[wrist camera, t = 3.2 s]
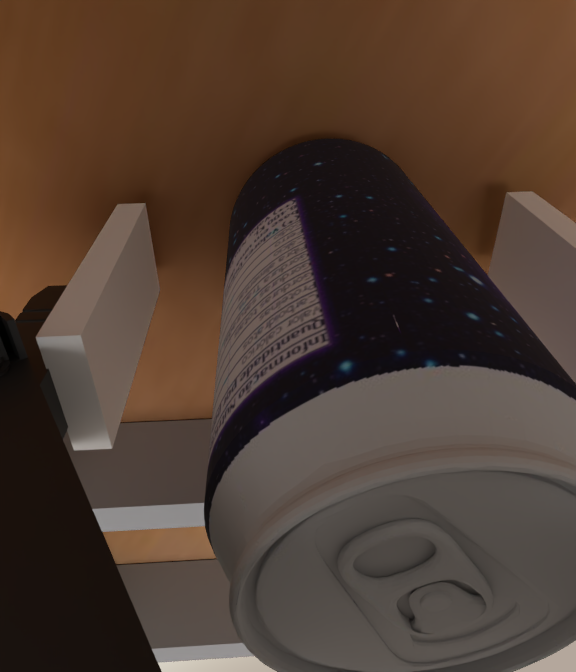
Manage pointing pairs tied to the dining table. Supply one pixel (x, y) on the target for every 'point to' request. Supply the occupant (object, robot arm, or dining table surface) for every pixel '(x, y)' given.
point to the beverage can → (383, 435)
